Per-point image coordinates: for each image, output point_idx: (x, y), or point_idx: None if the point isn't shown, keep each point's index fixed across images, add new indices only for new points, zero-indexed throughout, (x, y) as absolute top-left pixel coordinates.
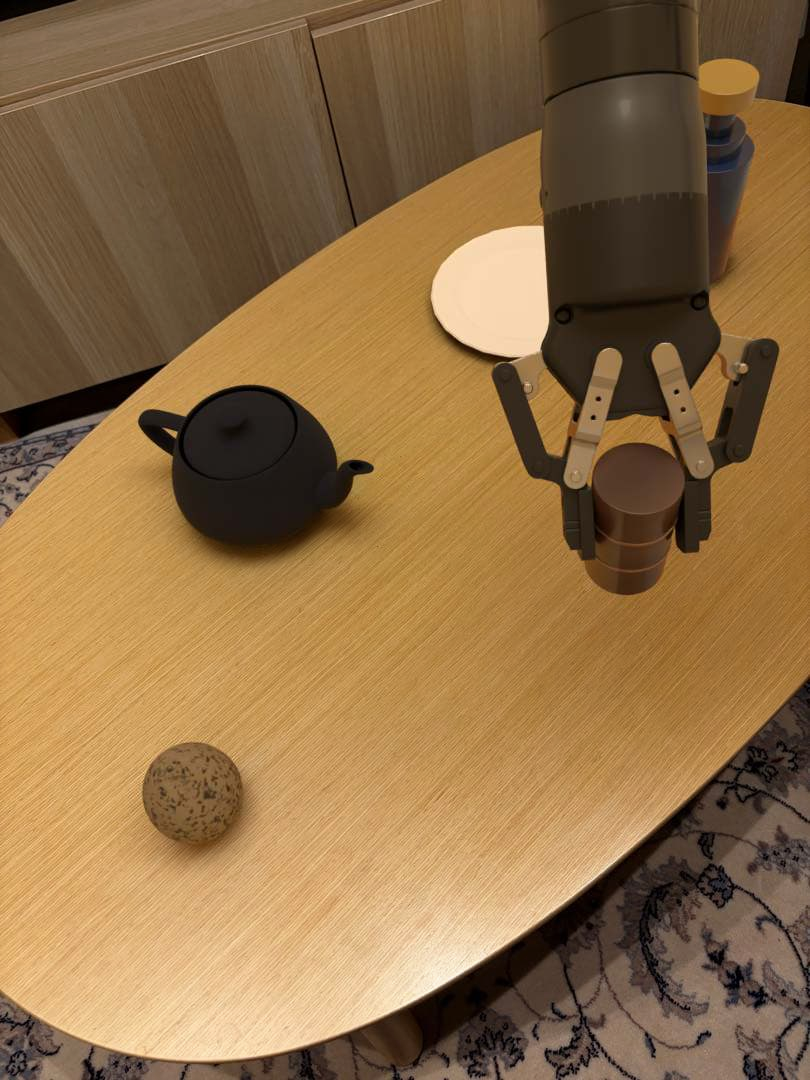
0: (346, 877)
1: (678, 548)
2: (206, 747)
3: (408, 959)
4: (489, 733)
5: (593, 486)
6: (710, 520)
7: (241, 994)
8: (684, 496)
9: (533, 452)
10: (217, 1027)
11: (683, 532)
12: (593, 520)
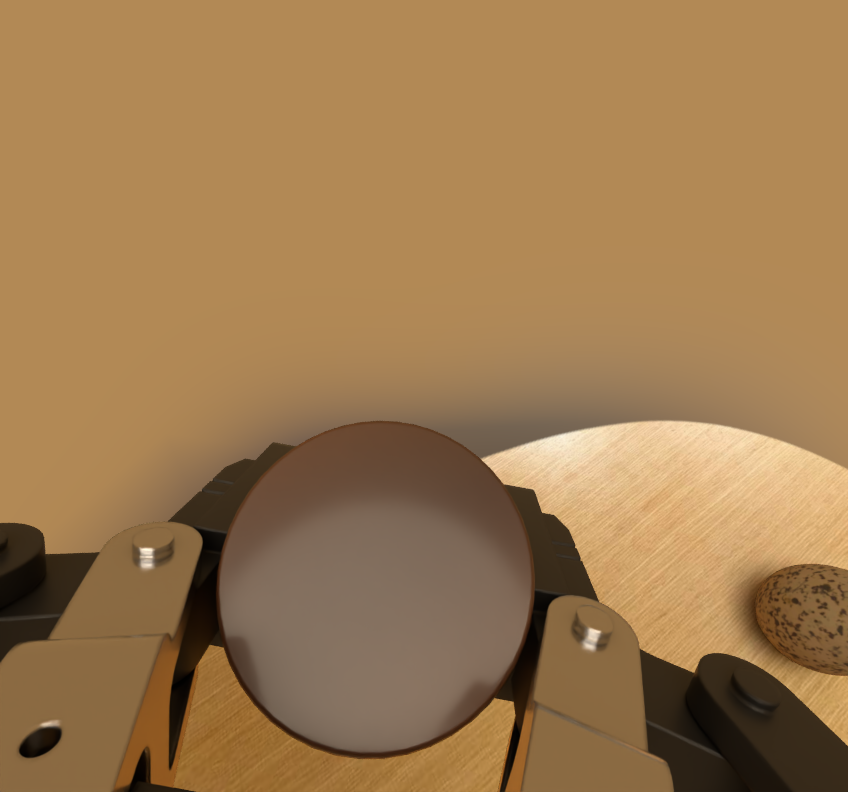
0: (636, 524)
1: None
2: (841, 653)
3: (583, 453)
4: None
5: (534, 574)
6: (215, 479)
7: (710, 457)
8: None
9: (815, 756)
10: (724, 440)
11: None
12: None
